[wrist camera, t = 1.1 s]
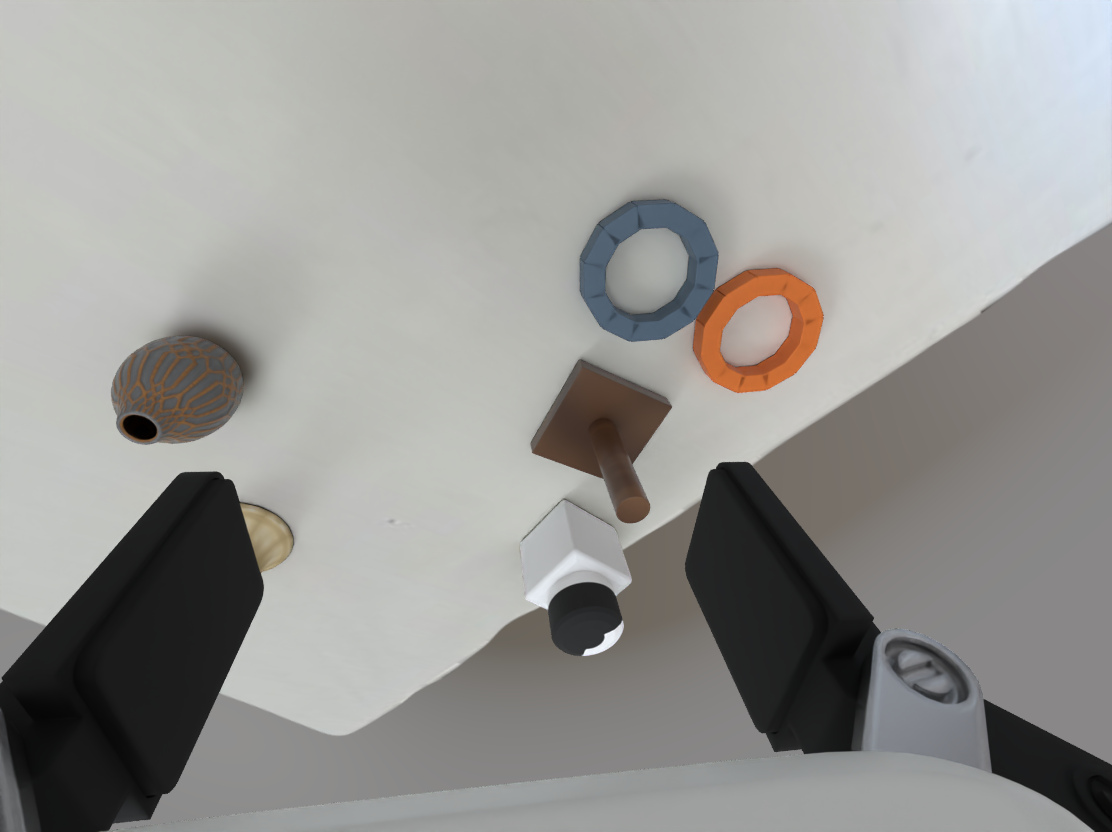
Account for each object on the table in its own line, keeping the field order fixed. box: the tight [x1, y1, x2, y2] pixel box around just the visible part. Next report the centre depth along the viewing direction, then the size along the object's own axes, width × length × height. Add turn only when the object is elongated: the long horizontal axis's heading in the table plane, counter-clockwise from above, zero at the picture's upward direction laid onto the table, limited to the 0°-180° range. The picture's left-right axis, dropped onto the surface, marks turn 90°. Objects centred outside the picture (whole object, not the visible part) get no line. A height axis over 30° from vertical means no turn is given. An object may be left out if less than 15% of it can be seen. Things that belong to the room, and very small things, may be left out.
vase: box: [111, 336, 243, 445], centre depth 34 cm, size 7×7×9 cm
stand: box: [531, 360, 672, 523], centre depth 40 cm, size 9×9×12 cm
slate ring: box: [580, 199, 718, 342], centre depth 38 cm, size 10×10×2 cm
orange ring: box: [693, 268, 824, 393], centre depth 42 cm, size 10×10×2 cm
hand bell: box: [240, 503, 293, 573], centre depth 40 cm, size 8×8×16 cm
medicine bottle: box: [520, 500, 632, 656], centre depth 46 cm, size 7×7×12 cm
